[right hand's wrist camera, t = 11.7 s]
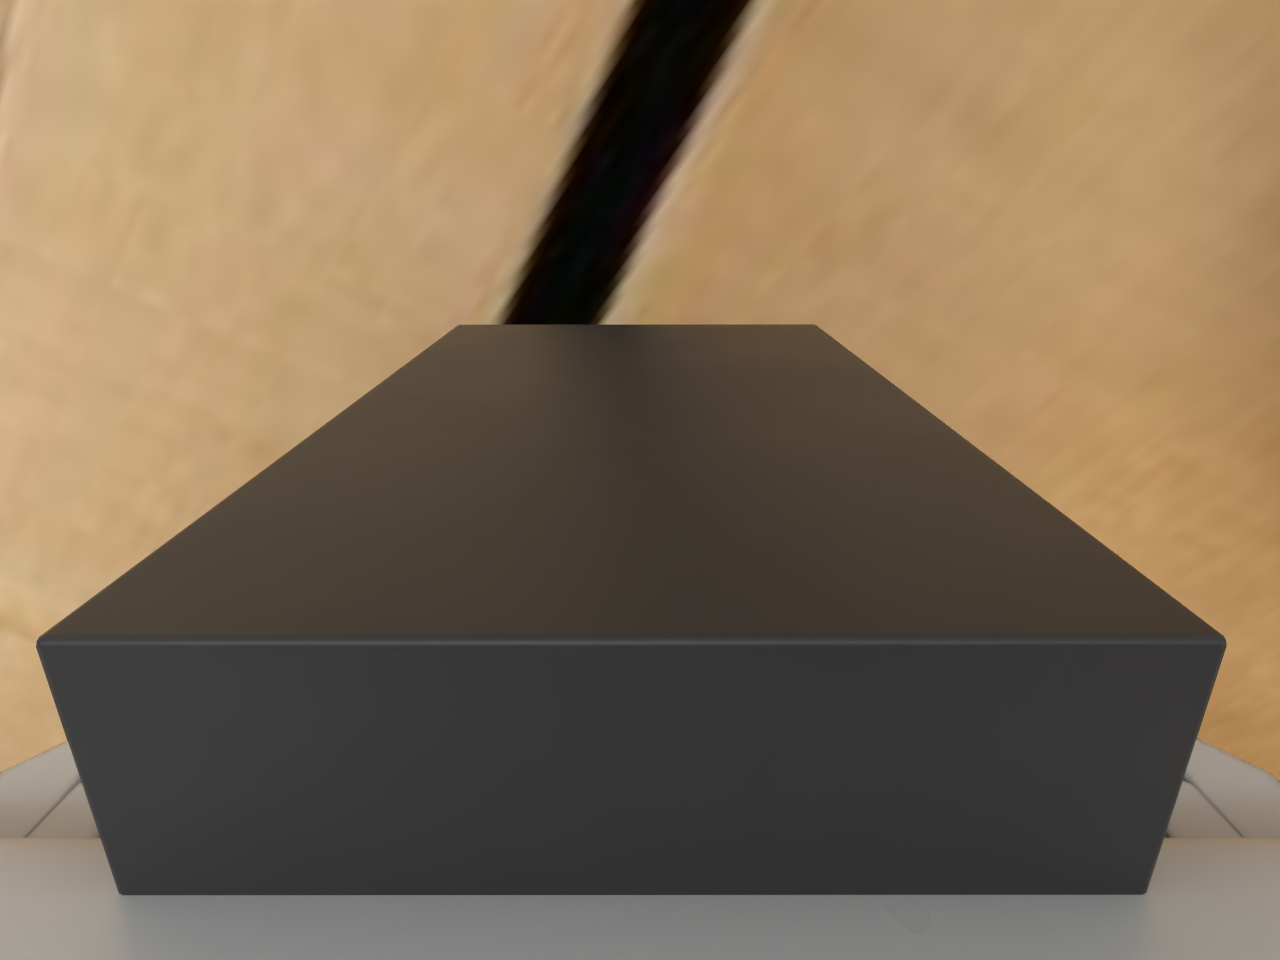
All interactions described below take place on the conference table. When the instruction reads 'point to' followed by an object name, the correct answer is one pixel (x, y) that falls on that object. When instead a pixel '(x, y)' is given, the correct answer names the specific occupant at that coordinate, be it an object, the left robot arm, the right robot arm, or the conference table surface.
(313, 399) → the conference table surface
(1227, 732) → the conference table surface
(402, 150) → the conference table surface
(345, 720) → the box
